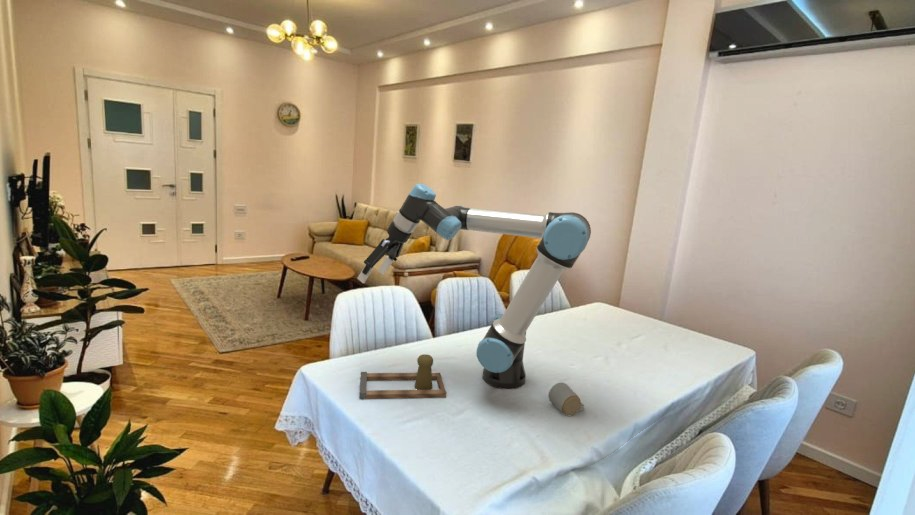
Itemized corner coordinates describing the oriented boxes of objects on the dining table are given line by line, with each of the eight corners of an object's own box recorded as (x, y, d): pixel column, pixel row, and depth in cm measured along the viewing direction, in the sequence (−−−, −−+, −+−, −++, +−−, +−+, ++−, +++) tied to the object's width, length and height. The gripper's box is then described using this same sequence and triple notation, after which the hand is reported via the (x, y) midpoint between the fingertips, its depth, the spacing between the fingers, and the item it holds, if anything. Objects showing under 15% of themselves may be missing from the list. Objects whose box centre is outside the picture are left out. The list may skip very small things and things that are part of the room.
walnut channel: (439, 376, 158) (440, 372, 157) (446, 397, 144) (446, 393, 144) (366, 377, 153) (366, 373, 153) (365, 399, 140) (366, 394, 139)
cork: (418, 392, 146) (420, 361, 143) (411, 384, 151) (413, 353, 149) (435, 389, 149) (437, 358, 146) (428, 381, 154) (430, 351, 151)
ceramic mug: (561, 418, 138) (565, 395, 136) (546, 404, 145) (550, 382, 144) (589, 414, 142) (593, 392, 141) (573, 401, 149) (577, 379, 148)
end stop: (366, 377, 153) (366, 371, 153) (365, 399, 140) (366, 393, 139) (360, 377, 153) (360, 371, 152) (359, 399, 139) (359, 393, 139)
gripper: (410, 217, 160) (380, 263, 167) (374, 223, 137) (342, 277, 144) (426, 230, 159) (396, 276, 166) (393, 238, 136) (359, 291, 143)
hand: (371, 276), depth 155 cm, fingers open, 13 cm apart
